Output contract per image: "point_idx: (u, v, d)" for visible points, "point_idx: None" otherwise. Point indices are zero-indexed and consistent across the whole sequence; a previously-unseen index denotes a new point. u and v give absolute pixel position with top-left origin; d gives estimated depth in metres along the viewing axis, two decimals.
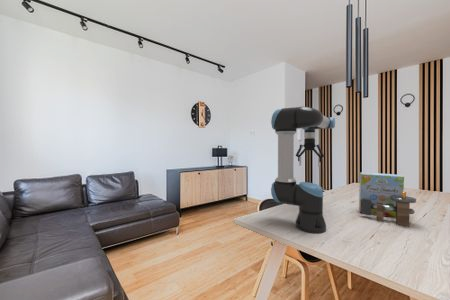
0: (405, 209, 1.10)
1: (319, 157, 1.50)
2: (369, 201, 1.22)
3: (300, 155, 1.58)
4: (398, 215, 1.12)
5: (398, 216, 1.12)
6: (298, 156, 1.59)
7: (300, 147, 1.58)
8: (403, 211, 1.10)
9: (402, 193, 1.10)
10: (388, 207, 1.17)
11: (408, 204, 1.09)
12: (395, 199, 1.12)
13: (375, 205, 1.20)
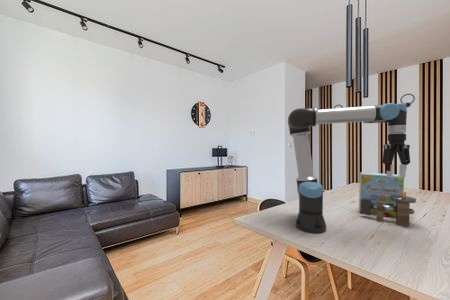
0: (405, 209, 1.10)
1: None
2: (369, 201, 1.22)
3: (400, 160, 1.10)
4: (398, 215, 1.12)
5: (398, 216, 1.12)
6: None
7: None
8: (403, 211, 1.10)
9: (402, 193, 1.10)
10: (388, 207, 1.17)
11: (408, 204, 1.09)
12: (395, 199, 1.12)
13: (375, 205, 1.20)
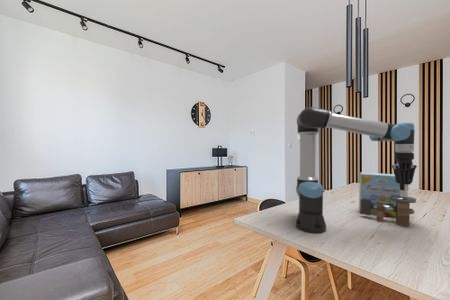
0: (405, 209, 1.10)
1: None
2: (369, 201, 1.22)
3: None
4: (398, 215, 1.12)
5: (398, 216, 1.12)
6: None
7: None
8: (403, 211, 1.10)
9: None
10: (388, 207, 1.17)
11: (408, 204, 1.09)
12: (396, 199, 1.12)
13: (375, 205, 1.20)
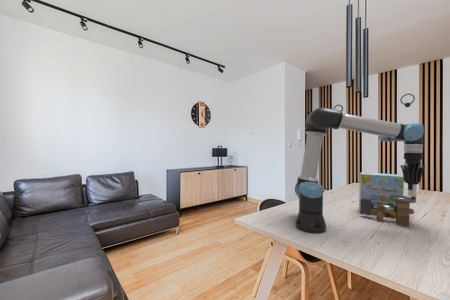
0: (405, 209, 1.10)
1: None
2: (369, 201, 1.22)
3: None
4: (398, 215, 1.12)
5: (398, 216, 1.12)
6: None
7: None
8: (403, 211, 1.10)
9: None
10: (388, 207, 1.17)
11: (408, 204, 1.09)
12: (414, 201, 1.09)
13: (375, 205, 1.20)
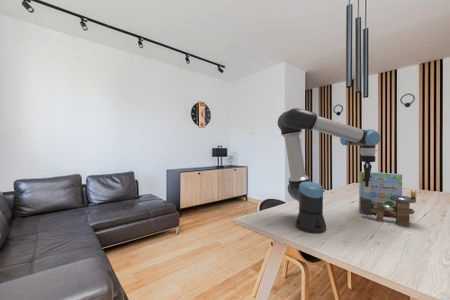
0: (405, 209, 1.10)
1: None
2: (369, 201, 1.22)
3: None
4: (398, 215, 1.12)
5: (398, 216, 1.12)
6: None
7: None
8: (403, 211, 1.10)
9: (415, 193, 1.11)
10: (388, 207, 1.17)
11: (408, 204, 1.09)
12: (414, 201, 1.09)
13: (375, 205, 1.20)
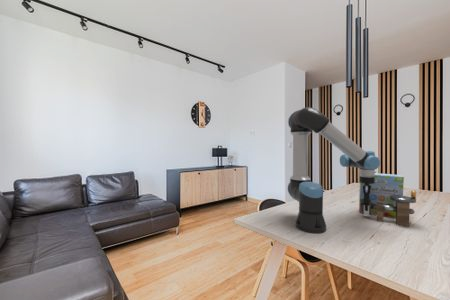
0: (405, 209, 1.10)
1: (364, 203, 1.23)
2: (369, 201, 1.22)
3: None
4: (398, 215, 1.12)
5: (398, 216, 1.12)
6: None
7: None
8: (403, 211, 1.10)
9: (415, 193, 1.11)
10: (388, 207, 1.17)
11: (408, 204, 1.09)
12: (414, 201, 1.09)
13: (375, 205, 1.20)
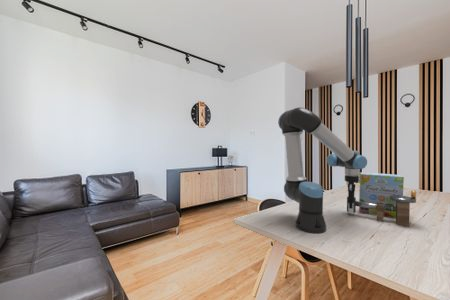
0: (405, 209, 1.10)
1: None
2: (353, 199, 1.26)
3: None
4: (398, 215, 1.12)
5: (398, 216, 1.12)
6: None
7: None
8: (403, 211, 1.10)
9: (415, 193, 1.11)
10: (371, 205, 1.22)
11: (408, 204, 1.09)
12: (414, 201, 1.09)
13: (359, 203, 1.25)
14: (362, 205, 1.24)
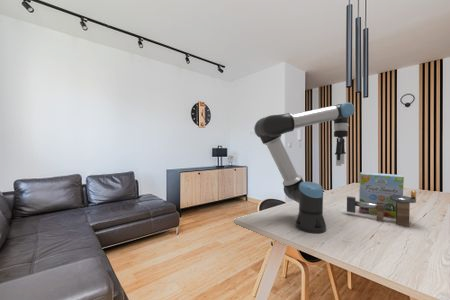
0: (405, 209, 1.10)
1: None
2: (353, 199, 1.26)
3: None
4: (398, 215, 1.12)
5: (398, 216, 1.12)
6: None
7: None
8: (403, 211, 1.10)
9: (415, 193, 1.11)
10: (371, 205, 1.22)
11: (408, 204, 1.09)
12: (414, 201, 1.09)
13: (359, 203, 1.25)
14: (362, 205, 1.24)
